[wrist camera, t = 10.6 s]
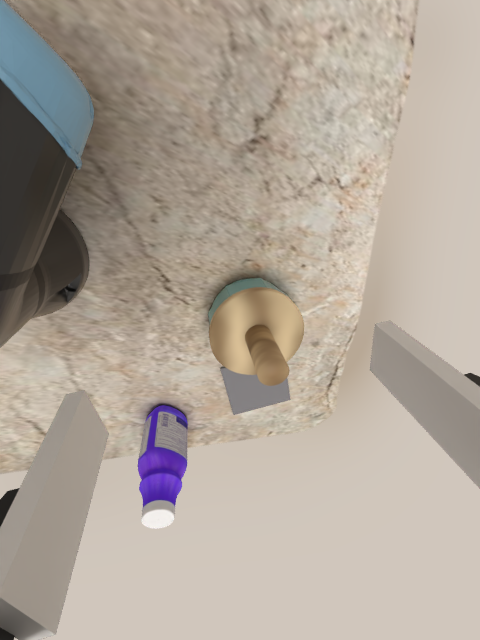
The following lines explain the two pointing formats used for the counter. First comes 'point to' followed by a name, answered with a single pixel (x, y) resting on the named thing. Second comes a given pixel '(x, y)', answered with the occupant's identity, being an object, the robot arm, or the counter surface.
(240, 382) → the mat
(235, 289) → the bowl
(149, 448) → the bottle
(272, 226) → the counter surface
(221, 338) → the lid
